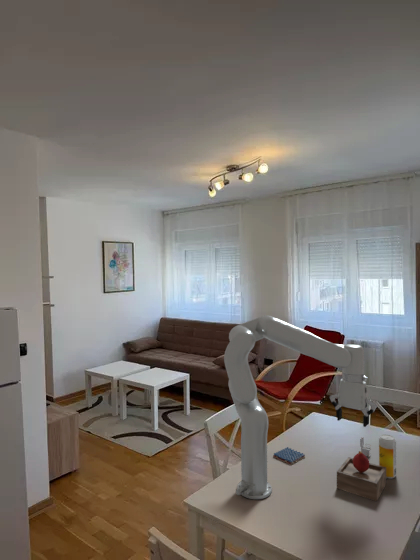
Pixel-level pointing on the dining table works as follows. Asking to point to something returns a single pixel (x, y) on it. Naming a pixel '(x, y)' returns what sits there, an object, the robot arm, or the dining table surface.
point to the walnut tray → (362, 480)
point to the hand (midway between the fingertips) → (352, 422)
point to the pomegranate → (361, 462)
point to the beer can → (388, 454)
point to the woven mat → (289, 456)
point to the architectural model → (364, 448)
